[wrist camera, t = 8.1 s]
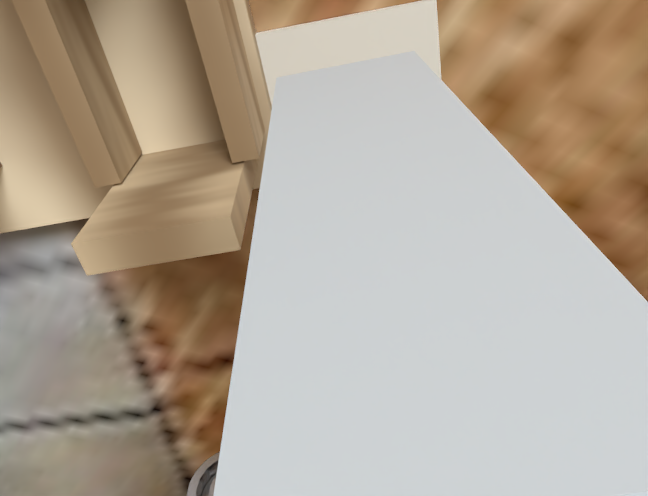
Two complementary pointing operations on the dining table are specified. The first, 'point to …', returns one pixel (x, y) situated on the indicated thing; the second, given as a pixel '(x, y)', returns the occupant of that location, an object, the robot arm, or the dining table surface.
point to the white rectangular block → (423, 311)
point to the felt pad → (351, 40)
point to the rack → (132, 125)
